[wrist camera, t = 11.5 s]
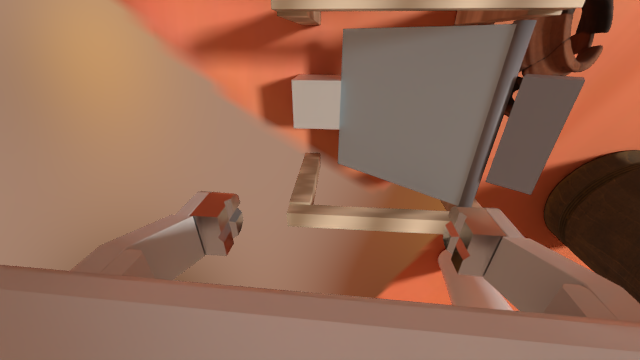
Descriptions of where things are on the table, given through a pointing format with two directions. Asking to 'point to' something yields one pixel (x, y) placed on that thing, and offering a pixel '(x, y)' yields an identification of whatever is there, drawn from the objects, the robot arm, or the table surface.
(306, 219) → the frame
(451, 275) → the tall white cup
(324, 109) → the block
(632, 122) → the table surface
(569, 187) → the wooden container
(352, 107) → the trapdoor
